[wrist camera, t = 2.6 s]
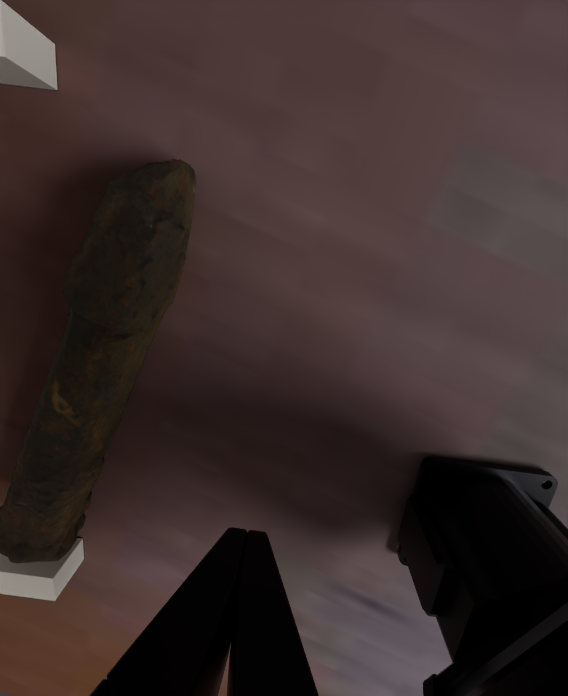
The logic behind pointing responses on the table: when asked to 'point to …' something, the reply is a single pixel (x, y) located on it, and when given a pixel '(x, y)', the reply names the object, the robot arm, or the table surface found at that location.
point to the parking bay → (40, 72)
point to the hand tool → (98, 354)
